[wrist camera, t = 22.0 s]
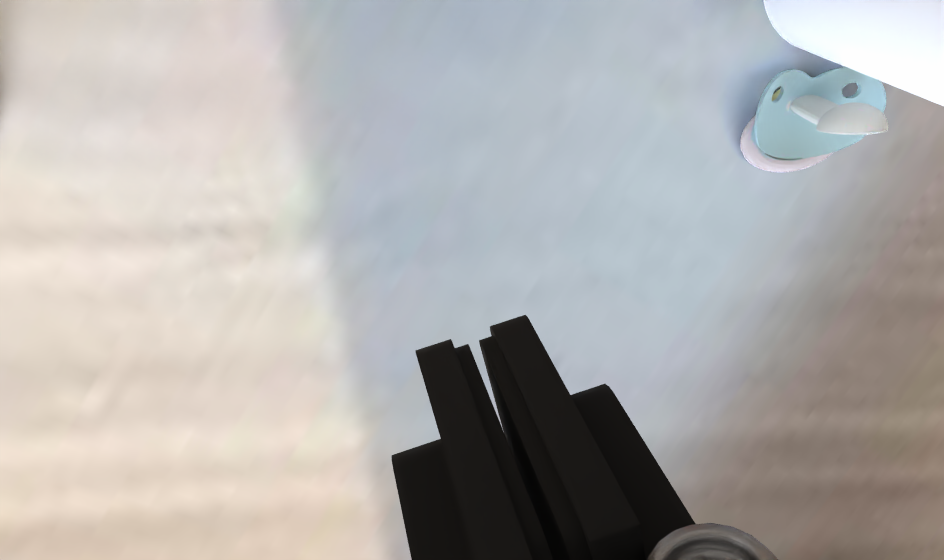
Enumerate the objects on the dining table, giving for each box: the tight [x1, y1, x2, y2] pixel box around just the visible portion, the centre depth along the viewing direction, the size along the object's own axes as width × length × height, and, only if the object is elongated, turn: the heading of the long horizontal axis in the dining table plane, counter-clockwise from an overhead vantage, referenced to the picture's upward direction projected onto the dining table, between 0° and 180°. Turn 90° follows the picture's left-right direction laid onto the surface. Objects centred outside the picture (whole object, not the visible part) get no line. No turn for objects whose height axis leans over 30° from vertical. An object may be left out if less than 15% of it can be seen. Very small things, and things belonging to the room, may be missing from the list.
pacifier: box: [741, 67, 888, 172], centre depth 39 cm, size 7×6×6 cm
